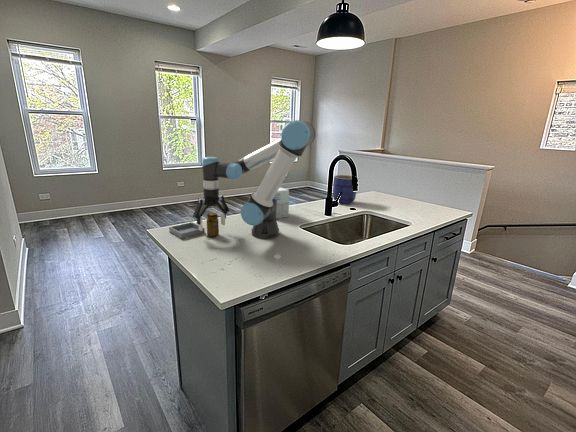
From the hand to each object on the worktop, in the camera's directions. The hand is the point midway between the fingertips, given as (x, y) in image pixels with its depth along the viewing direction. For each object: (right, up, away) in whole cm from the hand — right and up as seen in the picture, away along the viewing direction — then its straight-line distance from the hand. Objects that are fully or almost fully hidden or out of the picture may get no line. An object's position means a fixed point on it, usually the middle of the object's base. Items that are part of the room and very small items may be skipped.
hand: (212, 227), depth 157 cm
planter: (+84, +16, +79) cm, 116 cm away
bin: (-15, -3, +4) cm, 16 cm away
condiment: (0, -5, +1) cm, 5 cm away
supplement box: (+30, +7, +41) cm, 52 cm away
